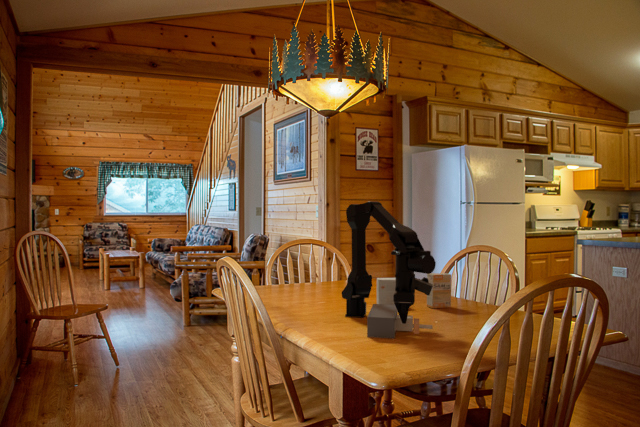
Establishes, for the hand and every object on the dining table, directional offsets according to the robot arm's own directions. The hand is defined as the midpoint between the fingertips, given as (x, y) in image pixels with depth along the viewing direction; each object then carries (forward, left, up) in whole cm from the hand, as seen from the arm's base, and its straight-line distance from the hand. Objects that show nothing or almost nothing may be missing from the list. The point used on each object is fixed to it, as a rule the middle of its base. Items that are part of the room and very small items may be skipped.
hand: (404, 320), depth 150 cm
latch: (+4, -9, -1) cm, 10 cm away
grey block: (-7, 0, -3) cm, 7 cm away
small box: (-8, +40, -4) cm, 41 cm away
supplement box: (+12, +40, -4) cm, 42 cm away
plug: (+3, 0, -3) cm, 4 cm away
